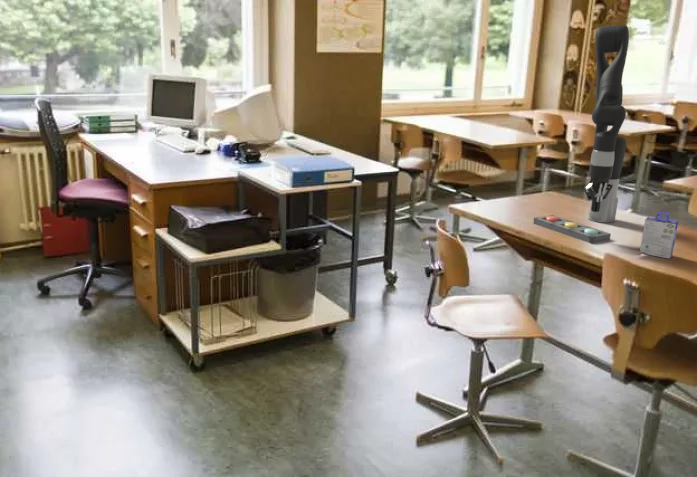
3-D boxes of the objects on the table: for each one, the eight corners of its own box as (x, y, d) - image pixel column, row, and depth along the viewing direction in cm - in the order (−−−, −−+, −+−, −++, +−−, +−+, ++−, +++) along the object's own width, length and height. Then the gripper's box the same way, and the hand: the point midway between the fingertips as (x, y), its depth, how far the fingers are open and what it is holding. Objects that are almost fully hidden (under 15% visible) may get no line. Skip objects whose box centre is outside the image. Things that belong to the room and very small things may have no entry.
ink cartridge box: (672, 255, 232) (680, 213, 228) (670, 259, 228) (678, 217, 223) (641, 249, 237) (648, 208, 233) (638, 253, 233) (646, 212, 228)
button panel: (533, 225, 261) (534, 217, 260) (551, 222, 266) (552, 214, 265) (590, 245, 239) (591, 237, 238) (609, 241, 244) (610, 233, 243)
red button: (542, 222, 260) (543, 216, 259) (551, 221, 263) (552, 215, 262) (552, 226, 256) (553, 219, 256) (560, 224, 259) (561, 218, 258)
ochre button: (561, 229, 253) (562, 222, 252) (569, 227, 255) (570, 221, 255) (571, 232, 249) (572, 226, 249) (579, 230, 252) (580, 224, 251)
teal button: (580, 235, 246) (581, 229, 245) (589, 234, 248) (590, 227, 247) (591, 239, 242) (592, 232, 241) (599, 237, 244) (600, 231, 244)
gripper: (605, 159, 243) (598, 206, 249) (580, 162, 237) (573, 211, 242) (623, 163, 237) (616, 211, 243) (598, 166, 231) (591, 216, 236)
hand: (594, 211), depth 242 cm, fingers closed
